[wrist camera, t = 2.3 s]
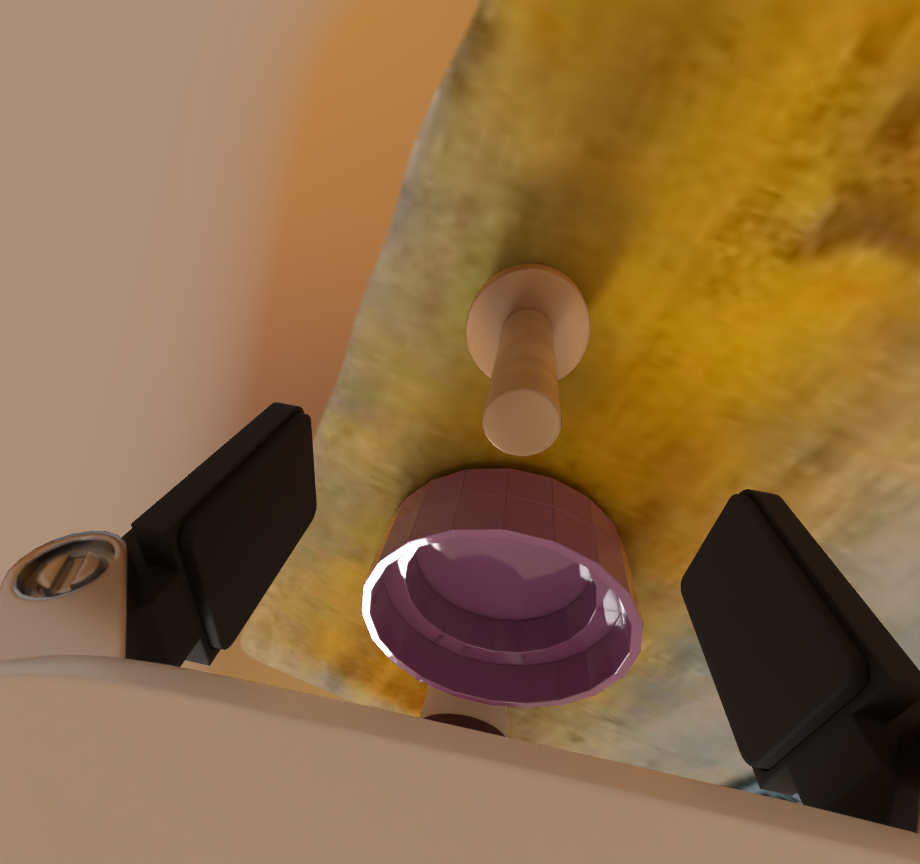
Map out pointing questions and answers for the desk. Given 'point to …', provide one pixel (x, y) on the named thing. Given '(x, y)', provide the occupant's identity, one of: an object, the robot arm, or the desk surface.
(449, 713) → the coffee cup
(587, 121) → the desk surface
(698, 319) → the desk surface
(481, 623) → the bowl
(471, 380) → the desk surface
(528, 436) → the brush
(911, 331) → the desk surface
